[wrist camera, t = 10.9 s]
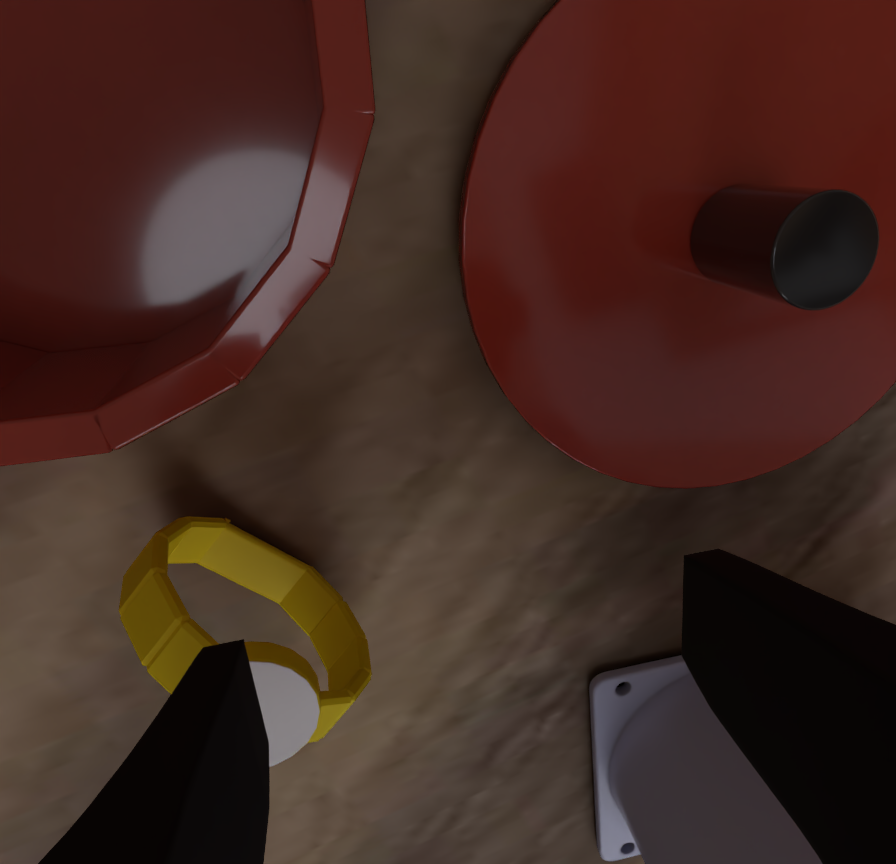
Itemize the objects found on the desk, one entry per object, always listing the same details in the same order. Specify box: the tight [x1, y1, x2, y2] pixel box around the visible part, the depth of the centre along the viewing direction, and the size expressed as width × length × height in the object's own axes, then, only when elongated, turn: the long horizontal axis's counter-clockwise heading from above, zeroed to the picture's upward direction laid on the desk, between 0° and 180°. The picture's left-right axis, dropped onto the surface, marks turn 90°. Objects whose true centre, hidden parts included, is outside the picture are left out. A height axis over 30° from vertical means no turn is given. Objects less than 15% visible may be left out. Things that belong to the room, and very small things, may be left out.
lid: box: [459, 0, 896, 489], centre depth 17 cm, size 14×14×4 cm
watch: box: [119, 516, 372, 767], centre depth 17 cm, size 6×3×6 cm, turn 50°
